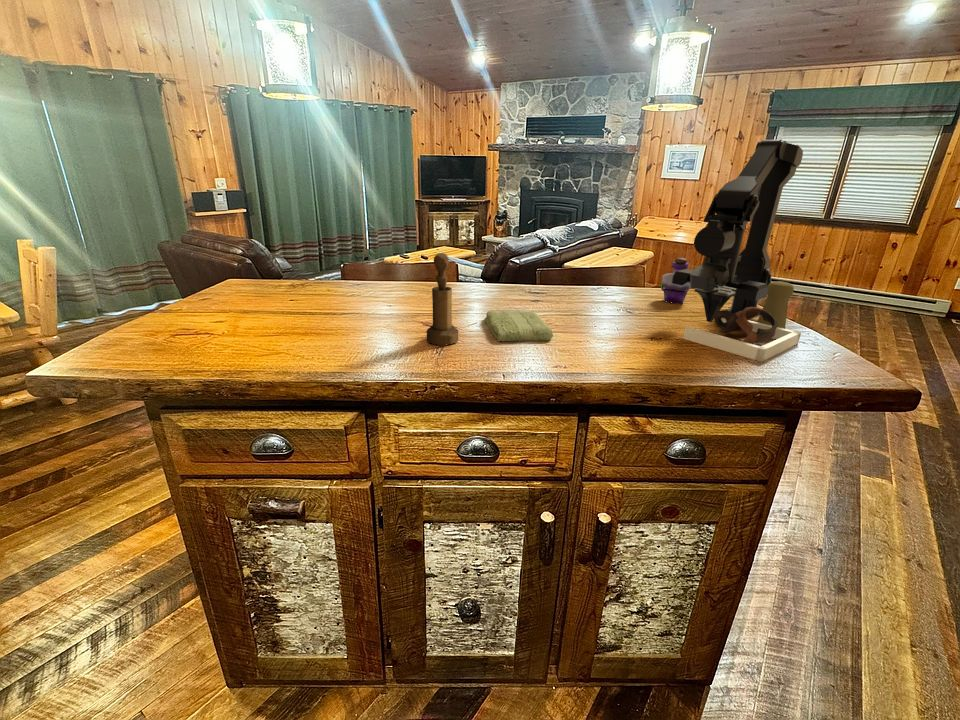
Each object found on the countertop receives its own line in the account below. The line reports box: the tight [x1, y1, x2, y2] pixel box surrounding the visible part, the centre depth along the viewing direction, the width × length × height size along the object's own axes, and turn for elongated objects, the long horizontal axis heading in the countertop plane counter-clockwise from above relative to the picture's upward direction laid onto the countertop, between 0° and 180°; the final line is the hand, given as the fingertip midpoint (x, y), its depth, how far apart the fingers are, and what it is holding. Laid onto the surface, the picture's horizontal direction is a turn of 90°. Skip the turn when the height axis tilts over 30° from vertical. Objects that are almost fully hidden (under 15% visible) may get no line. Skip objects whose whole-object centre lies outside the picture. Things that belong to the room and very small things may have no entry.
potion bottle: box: [660, 257, 691, 305], centre depth 129 cm, size 9×9×12 cm
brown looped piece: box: [713, 306, 778, 345], centre depth 100 cm, size 12×10×8 cm
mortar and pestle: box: [426, 252, 459, 346], centre depth 95 cm, size 7×6×18 cm
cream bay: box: [683, 318, 802, 363], centre depth 100 cm, size 17×16×2 cm
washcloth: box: [484, 310, 554, 343], centre depth 105 cm, size 13×18×3 cm
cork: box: [756, 280, 795, 329], centre depth 107 cm, size 6×6×11 cm
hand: (709, 321), depth 105 cm, fingers closed
